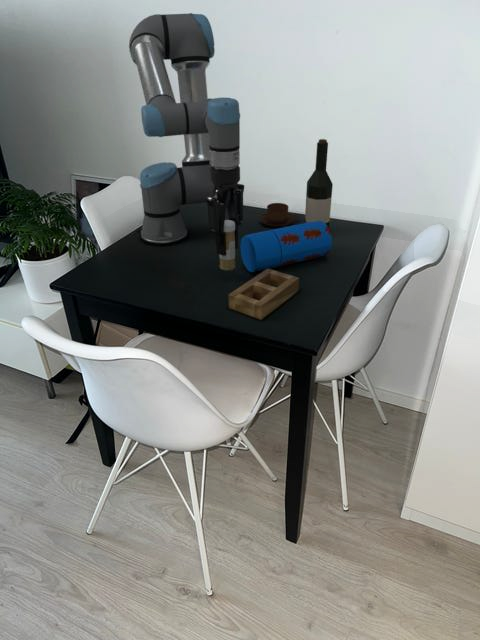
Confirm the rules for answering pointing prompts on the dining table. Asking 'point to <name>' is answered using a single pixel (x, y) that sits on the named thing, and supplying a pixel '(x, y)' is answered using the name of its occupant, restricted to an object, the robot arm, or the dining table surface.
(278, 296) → the holder
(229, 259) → the spice jar
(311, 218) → the wine bottle
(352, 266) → the dining table surface
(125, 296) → the dining table surface
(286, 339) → the dining table surface
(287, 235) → the thermos
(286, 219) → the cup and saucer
